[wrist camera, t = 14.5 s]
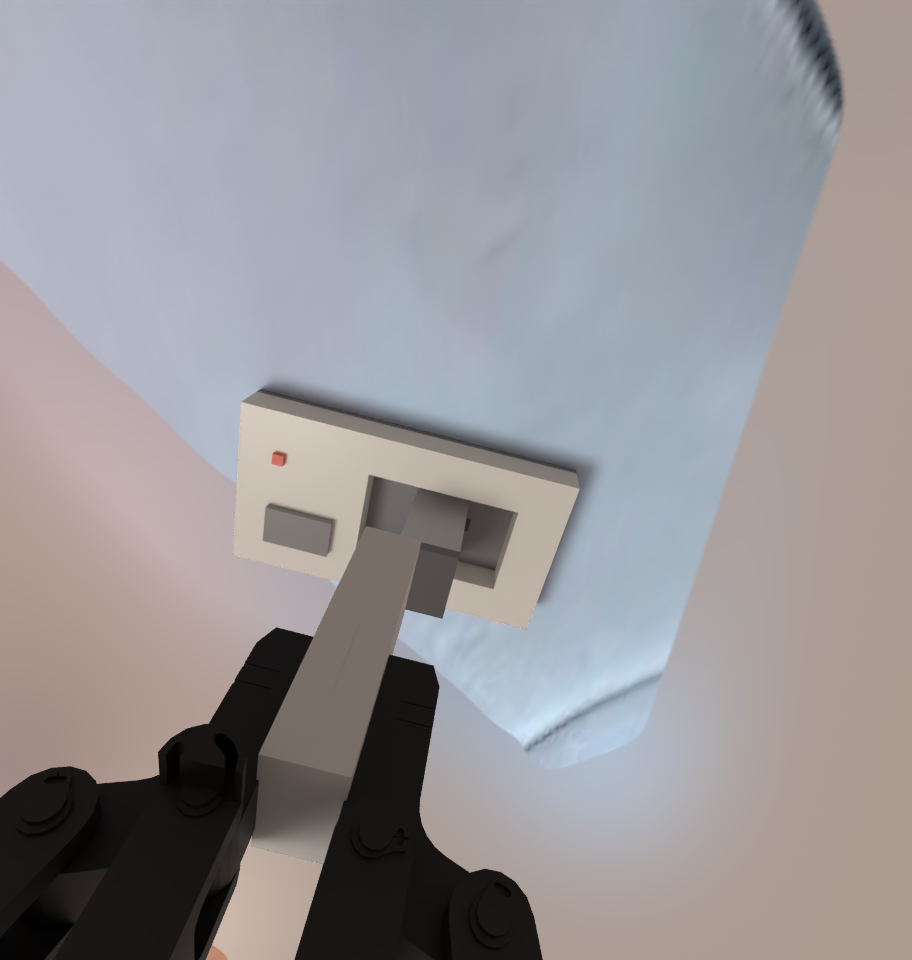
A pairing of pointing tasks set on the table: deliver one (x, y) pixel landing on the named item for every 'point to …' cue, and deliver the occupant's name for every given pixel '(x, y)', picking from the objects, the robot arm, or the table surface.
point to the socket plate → (394, 500)
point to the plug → (435, 548)
